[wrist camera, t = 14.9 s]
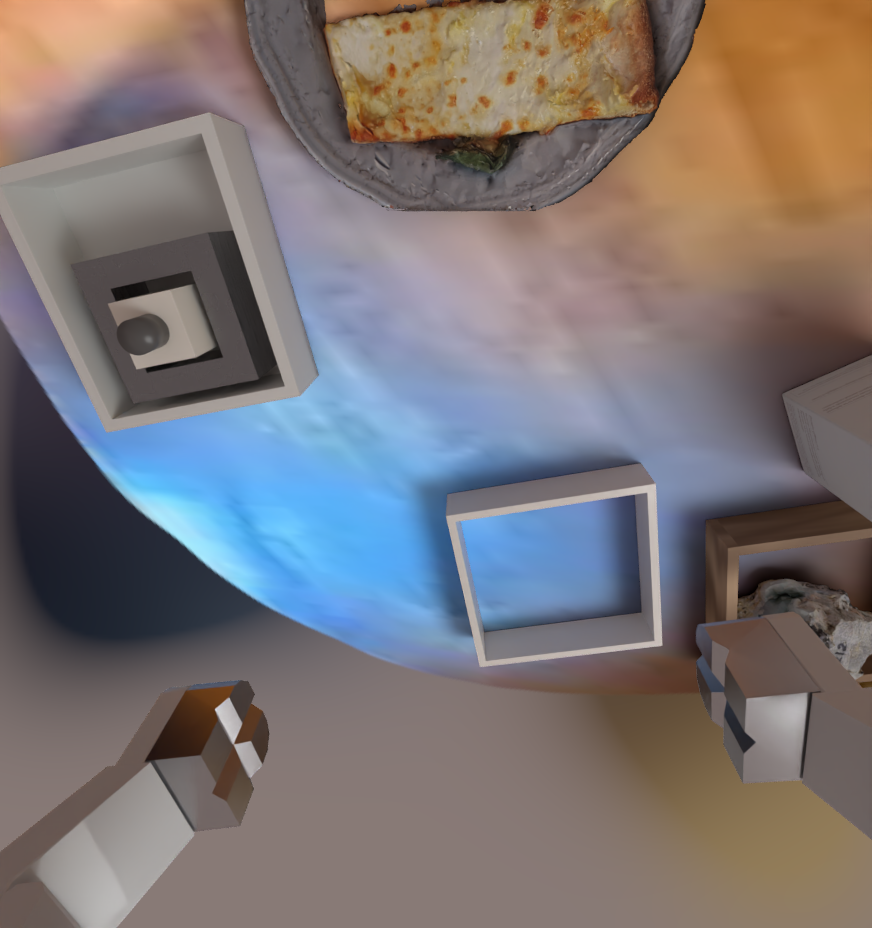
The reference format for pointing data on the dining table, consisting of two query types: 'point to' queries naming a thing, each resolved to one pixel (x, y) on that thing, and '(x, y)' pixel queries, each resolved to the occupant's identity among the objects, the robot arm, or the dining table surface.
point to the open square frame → (573, 634)
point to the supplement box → (836, 432)
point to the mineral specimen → (817, 617)
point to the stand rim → (772, 547)
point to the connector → (164, 326)
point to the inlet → (222, 297)
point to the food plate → (471, 93)
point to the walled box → (145, 224)
